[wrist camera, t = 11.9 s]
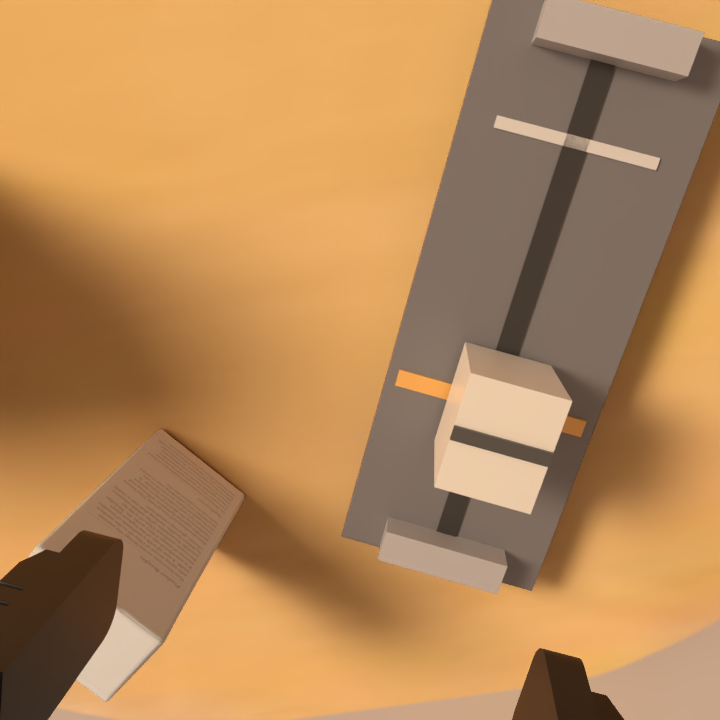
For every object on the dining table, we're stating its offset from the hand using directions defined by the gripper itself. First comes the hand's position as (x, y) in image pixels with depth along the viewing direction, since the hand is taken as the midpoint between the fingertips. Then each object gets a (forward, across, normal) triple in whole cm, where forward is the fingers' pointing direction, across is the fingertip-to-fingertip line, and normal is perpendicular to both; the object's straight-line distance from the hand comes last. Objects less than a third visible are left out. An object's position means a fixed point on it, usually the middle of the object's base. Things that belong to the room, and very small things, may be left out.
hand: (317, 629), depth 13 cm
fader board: (+22, -5, -2) cm, 23 cm away
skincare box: (+22, +9, +11) cm, 26 cm away
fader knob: (+19, -5, +1) cm, 20 cm away
